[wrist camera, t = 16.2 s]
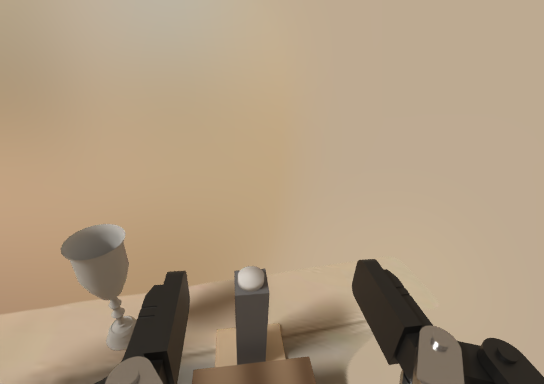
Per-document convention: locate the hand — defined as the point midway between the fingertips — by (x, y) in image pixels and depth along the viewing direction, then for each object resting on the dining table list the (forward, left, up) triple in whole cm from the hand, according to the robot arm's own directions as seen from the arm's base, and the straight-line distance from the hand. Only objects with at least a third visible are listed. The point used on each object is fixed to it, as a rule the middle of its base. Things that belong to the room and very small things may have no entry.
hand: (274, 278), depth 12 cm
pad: (0, +15, -30) cm, 34 cm away
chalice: (-19, +20, -30) cm, 41 cm away
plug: (0, +15, -30) cm, 33 cm away
